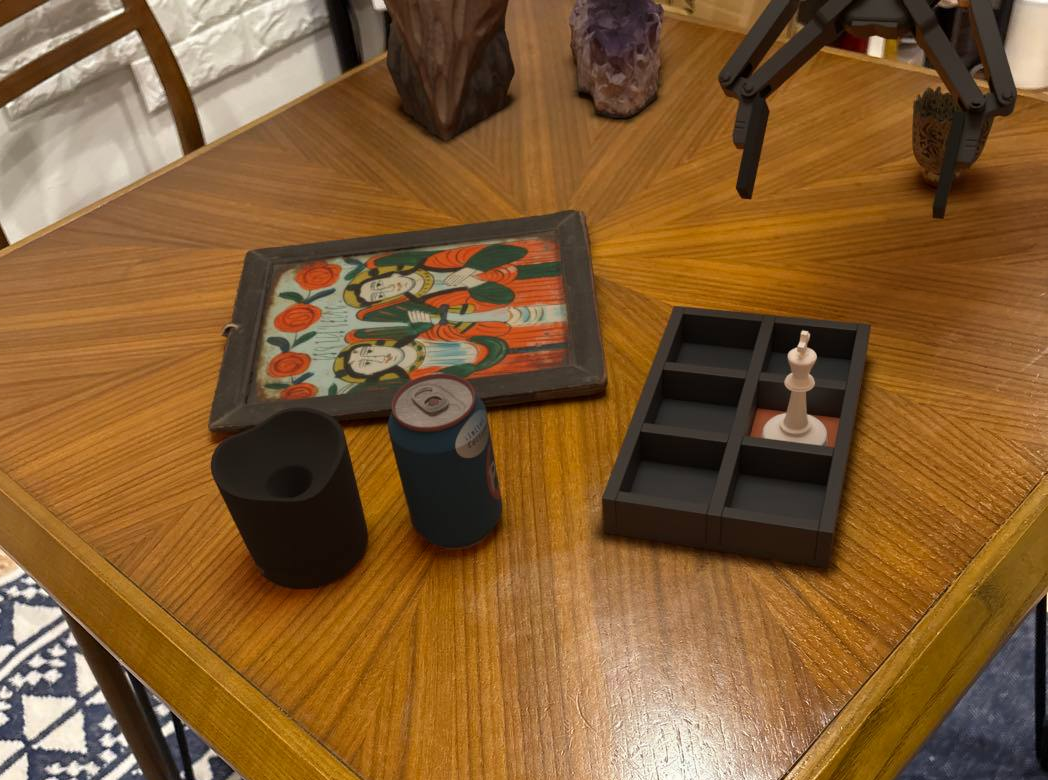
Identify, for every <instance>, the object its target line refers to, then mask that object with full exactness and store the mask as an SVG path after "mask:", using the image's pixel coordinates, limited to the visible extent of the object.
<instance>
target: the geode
mask: <svg viewBox="0 0 1048 780" xmlns="http://www.w3.org/2000/svg"><path fill="white" fill-rule="evenodd" d="M664 13H665V9H664V8H663V5H662V4H661V3H656V2H655V1H654V0H575V3H574V5H573V7H572V9H571V12H570V15H569V16H568V25H569V28H570V34H571V35H570V44H569V47H570V50H571V55H572V56H573V57H574V58H575V60H576V74H577V91H578V92H580V93H583V94H587V95H590V96H591V98H592V99H593V103H594V104H593V105H594V109H595V112H596V113H597V115H599V116H603V117H607V118H612V119H628V118H632V117H633V116H635V115H636V114H638V113H640V112H641V111H642V110H645V109H646V108H647V106H648V105H649V104H651V103H652V102H653V101H654V100H655V99H656V98H657V96H658V86H659V69H660V67H661V57H660V52H661V41H662V40H661V34H662V29H663V23H664Z"/></svg>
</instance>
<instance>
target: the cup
mask: <svg viewBox="0 0 1048 780" xmlns="http://www.w3.org/2000/svg"><path fill="white" fill-rule="evenodd" d="M989 93H990V91H988V92H986V94H989ZM954 111H960V112H961V110H960V109H959V107H958V105H957V104H956V102H955V101H954V99H953V97H952V96H951V94H950V93H949V91H948V92H945V93H943V92H942V88H941V86H940V85H939V86H937V87H936V88H935V90H934V89H933V88H931V87H929V86H928V87H926V89H925V90H924V91H923V93H922V95H921V94H920V93H918V94H917V95H916V98H915V100H913V105H912V129H911V132H912V133H911V145H912V152H913V156H914V158H915V161H916V162H917V164H918V165H919V166H920V167H921V168H923V170H922V177H923V180H924V181H925V183H927V184H928V185H929V186H931V187H935V188H937V185H938V181H939V176H940V172H941V167H942V163H943V158H944V154H945V149H946V145H947V140H948V136H949V131H950V127H951V122H952V118H953V113H954ZM995 118H996V117H993V118H990V119H988V120H987V121H986V122H984V124H983V126H982V128H981V133H980V137H979V142H978V146H977V151H976V155H975V160H974V163H973V164H972V166H973V165H974V164H975V163H976V162H977V161H978V159H980V157H981V155H982V153H983V151H984V149H985V146H986V143H987V141H988V138H989V137H990V133H991V130H992V127H993V124H994V121H995ZM966 170H967V169H961V168H955V170H954V175H953V179H952V184H951V187H953V186H954V185H955V186H956V185H957V184H958V183H959V182H960V181H961V179H962V177H963V175H964V171H966Z"/></svg>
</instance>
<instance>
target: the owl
mask: <svg viewBox="0 0 1048 780" xmlns="http://www.w3.org/2000/svg"><path fill="white" fill-rule="evenodd" d="M509 1H510V0H382V2H383V4H384V6H385V8H386V10H387V12H388V14H389V16H390V18H391V23H390V24H389V37H388V39H387V41H388V42H387V53H386V67H387V70H388V72H389V75H390V77H391V80H392V82H393V85H394V87H395V89H396V92H397V94H398V96H399V98H400V100H401V103H402V106H403V108H402V109H403V110H402V111H403V112H404V113H406V114H407V115H408V116H410V117H413V118H414V121H415V122H417V123H420V124H421V125H422V126H424V127H426V130H427V131H428V133H430V134H432V135H435V136H436V137H438V138H440V139H441V140H442V141H445V142H447V141H450V140H451V139H452V138H454V137H456V136H458V135H459V134H461V133H462V132H464V131H466V130H468V129H470V128H472V127H473V126H474V125H476V124H477V123H479V122H480V121H481V122H482V121H484V120H486V119H488V118H489V117H490V116H491V115H492V114H494V113H496V112H498V111H501V110H503V109H504V108H506V107H507V106H508V104H509V103H510V102H511V98H510V97H509V96H508V92H509V88H510V86H511V83H512V80H513V78H514V76H515V75H516V69H515V64H514V61H513V57H512V53H511V49H510V42H509V39H508V37H507V32H506V16H507V10H508V6H509Z"/></svg>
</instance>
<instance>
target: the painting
mask: <svg viewBox="0 0 1048 780" xmlns="http://www.w3.org/2000/svg"><path fill="white" fill-rule="evenodd" d="M591 244H592V242H591V238H590V234H589V228H588V224H587V217H586V213H585V211H584V210H575V209H567V210H566V209H565V210H561V211H556V212H552V213H546V214H542V215H541V214H540V215H531V216H523V217H516V218H506V219H505V218H504V219H498V220H497V219H496V220H488V221H481V222H473V223H465V224H459V225H450V226H441V227H435V228H428V229H427V228H426V229H419V230H410V231H408V230H407V231H402V232H401V231H400V232H393V233H382V234H375V235H367V236H359V237H351V238H342V239H334V240H333V239H332V240H325V241H317V242H316V241H315V242H312V243H299V244H289V245H283V246H271V247H261V248H254V249H249V250H247V252H246V253H245V255H244V258H243V266H242V271H241V274H240V278H239V282H238V287H237V289H236V297H235V299H234V303H233V306H234V307H233V312H232V313H231V321H230V322H228V323H227V324H224V326H222V328H221V337H225V338H226V344H225V346H224V350H223V354H222V360H221V363H220V368H219V371H218V377H217V382H216V387H215V390H214V396H213V398H212V402H211V407H210V412H209V417H208V421H207V429H208V431H209V432H211V434H212V433H213V434H229V433H230V434H231V433H241V432H244V431H246V430H249V429H251V428H253V427H255V426H257V425H258V424H260V423H261V422H263V421H265V420H266V419H268V418H269V417H271V416H272V415H274V414H276V413H278V412H280V411H282V410H285V409H289V408H296V407H303V408H311V409H316V410H319V411H322V412H324V413H327V414H328V415H330V416H332V417H333V418H334V419H335V420H336V421H338V422H342V421H343V422H344V421H345V422H346V421H353V420H365V419H374V418H386V417H390V415H391V412H392V401H393V398H394V396H395V394H396V393H397V392H398V390H399V389H400V388H401V387H403V386H404V385H405V384H407V383H408V382H410V381H412V380H414V379H416V378H419V377H422V376H426V375H431V374H450V375H455V376H458V377H460V378H463V379H464V380H466V381H467V382H468V383H470V385H471V386H472V387H473V389H474V392H475V394H476V395H477V396H478V397H479V398H480V399H481V400H482V402H483V403H484V405H485V407H486V408H492V407H501V406H502V407H503V406H511V405H517V404H525V403H531V402H537V401H546V400H555V399H563V398H574V397H583V396H590V395H595V394H599V393H602V392H603V391H604V390H605V389H606V388H607V386H608V384H609V383H608V371H607V367H606V358H605V349H604V343H603V342H604V341H603V336H602V329H601V328H602V327H601V322H600V314H599V307H598V299H597V291H596V285H595V276H594V275H595V274H594V267H593V260H592V254H591V247H590V246H591Z"/></svg>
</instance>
